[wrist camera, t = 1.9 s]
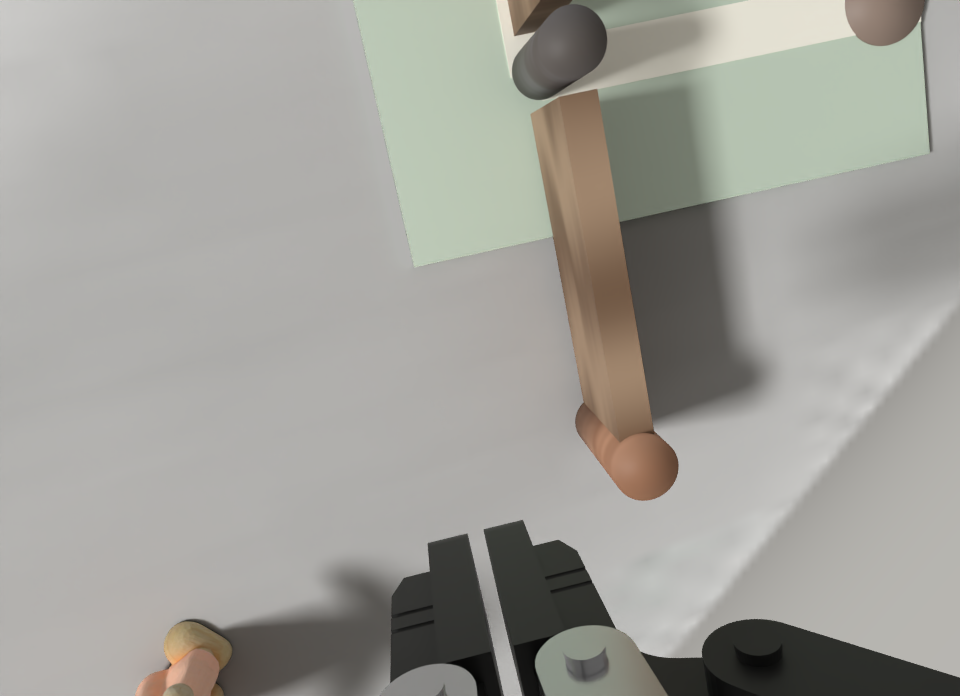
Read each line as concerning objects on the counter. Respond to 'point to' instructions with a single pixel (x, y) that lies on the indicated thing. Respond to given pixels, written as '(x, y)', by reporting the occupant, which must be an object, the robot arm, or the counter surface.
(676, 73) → the card
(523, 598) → the robot arm
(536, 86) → the hinged fence panel
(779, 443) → the counter surface
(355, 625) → the counter surface
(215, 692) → the grandmother figurine
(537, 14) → the fixed fence section
